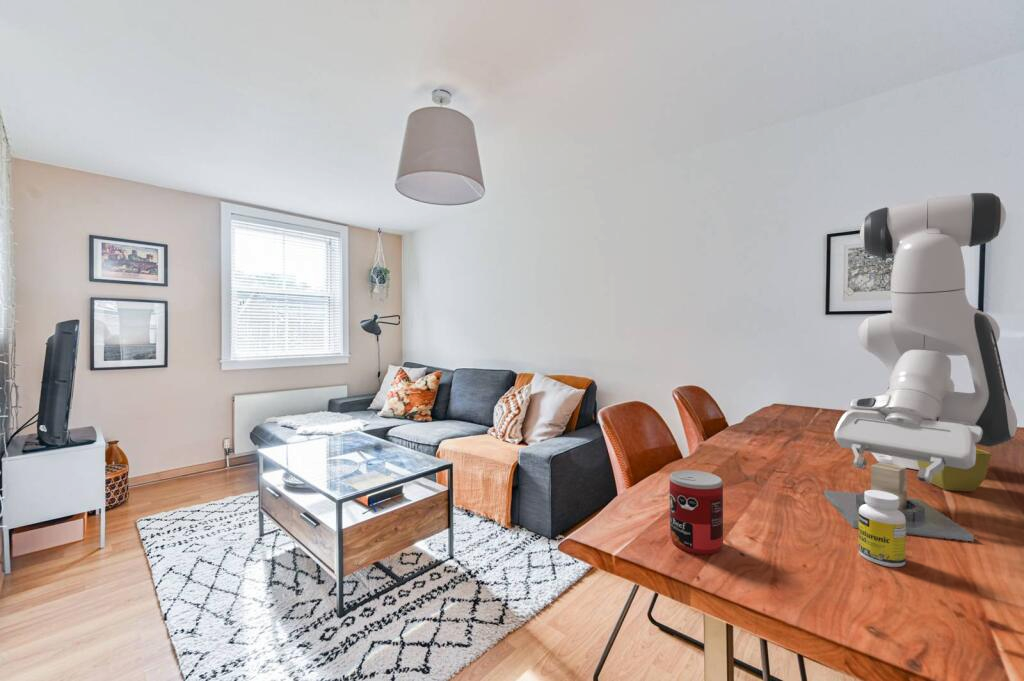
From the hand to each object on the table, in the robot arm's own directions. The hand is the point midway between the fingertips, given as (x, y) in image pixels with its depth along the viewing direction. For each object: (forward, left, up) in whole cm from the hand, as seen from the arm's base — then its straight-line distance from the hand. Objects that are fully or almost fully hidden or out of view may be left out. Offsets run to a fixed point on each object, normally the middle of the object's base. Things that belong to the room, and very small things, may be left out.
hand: (889, 473), depth 80 cm
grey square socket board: (0, 0, -8) cm, 8 cm away
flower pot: (-22, +19, -8) cm, 30 cm away
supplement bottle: (+19, -8, -8) cm, 22 cm away
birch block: (0, 0, -7) cm, 7 cm away
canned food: (+23, -34, -8) cm, 42 cm away
